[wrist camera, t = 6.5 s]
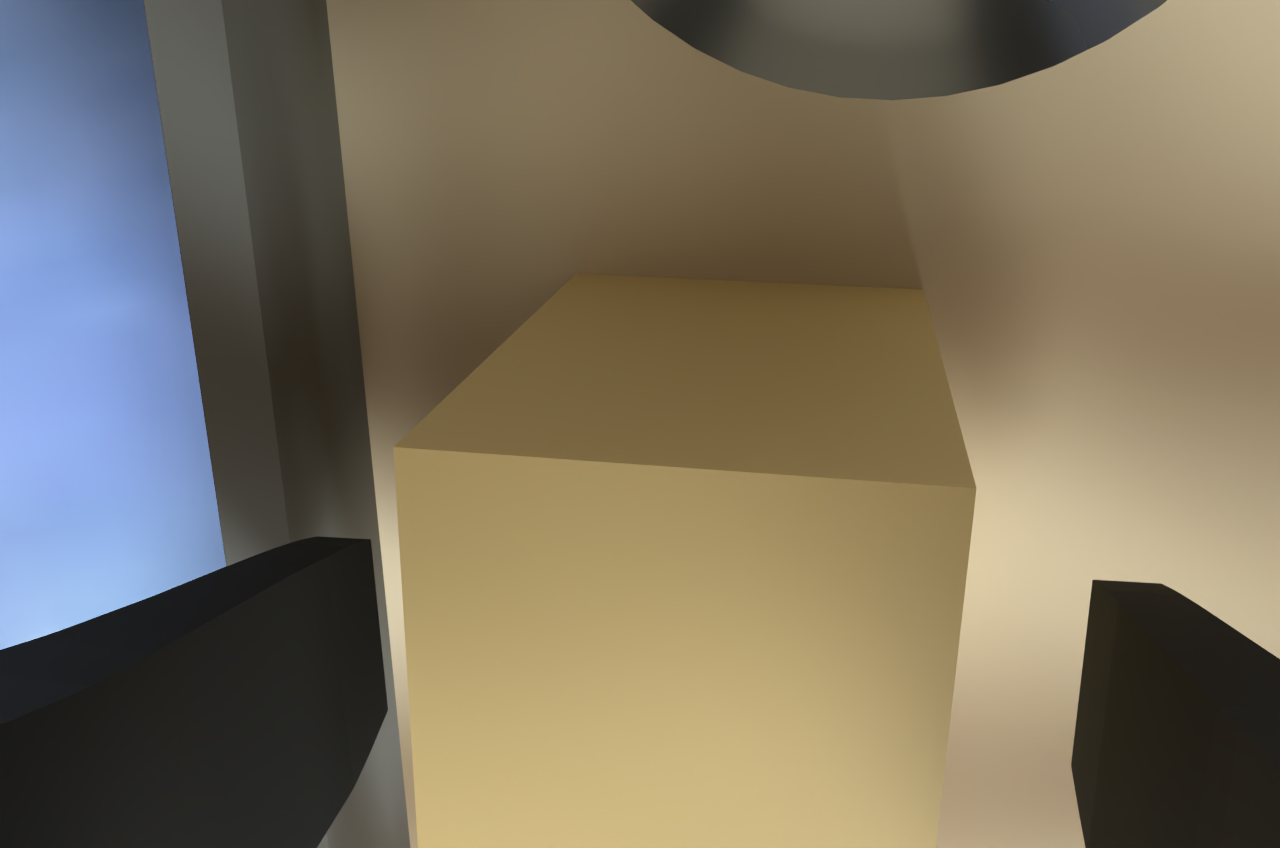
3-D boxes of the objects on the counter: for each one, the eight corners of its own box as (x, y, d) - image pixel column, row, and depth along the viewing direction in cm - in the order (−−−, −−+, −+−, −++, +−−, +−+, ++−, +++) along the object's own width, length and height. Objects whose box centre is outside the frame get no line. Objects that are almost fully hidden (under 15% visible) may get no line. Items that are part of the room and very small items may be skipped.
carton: (881, 744, 15) (900, 1165, 10) (576, 712, 16) (427, 1090, 10) (922, 289, 13) (976, 488, 8) (573, 273, 14) (386, 446, 8)
